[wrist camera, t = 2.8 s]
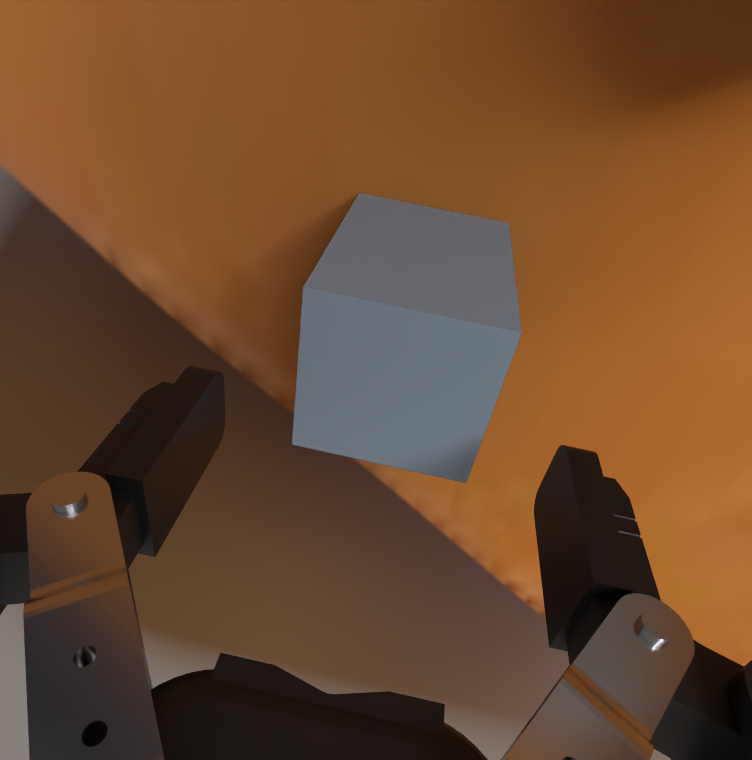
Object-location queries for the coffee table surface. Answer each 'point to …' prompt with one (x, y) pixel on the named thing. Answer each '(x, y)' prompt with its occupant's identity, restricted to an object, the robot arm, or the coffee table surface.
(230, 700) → the robot arm
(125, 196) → the coffee table surface
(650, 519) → the coffee table surface
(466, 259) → the block
